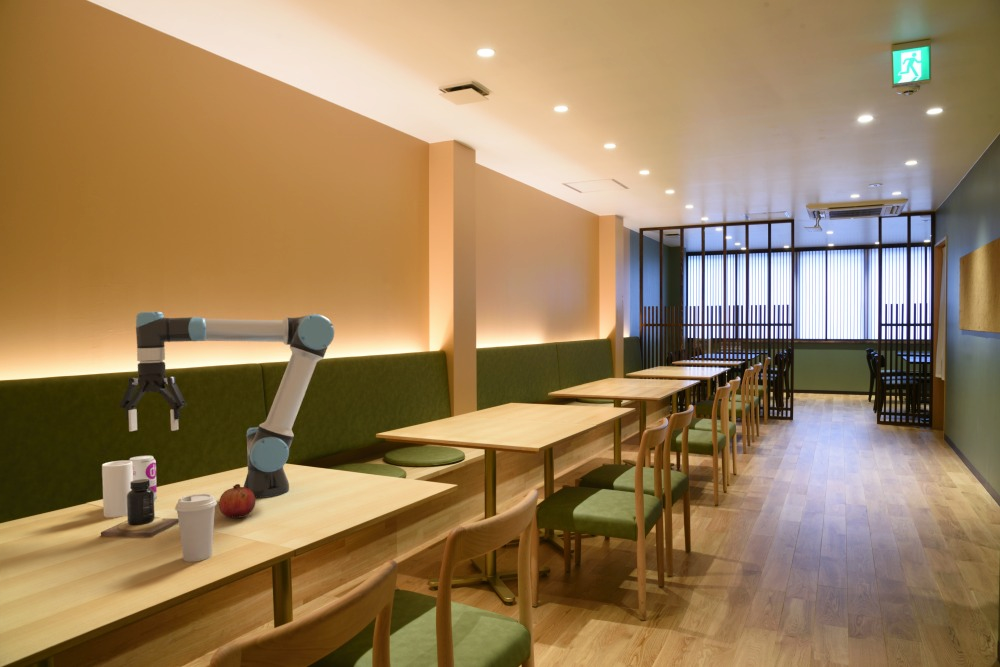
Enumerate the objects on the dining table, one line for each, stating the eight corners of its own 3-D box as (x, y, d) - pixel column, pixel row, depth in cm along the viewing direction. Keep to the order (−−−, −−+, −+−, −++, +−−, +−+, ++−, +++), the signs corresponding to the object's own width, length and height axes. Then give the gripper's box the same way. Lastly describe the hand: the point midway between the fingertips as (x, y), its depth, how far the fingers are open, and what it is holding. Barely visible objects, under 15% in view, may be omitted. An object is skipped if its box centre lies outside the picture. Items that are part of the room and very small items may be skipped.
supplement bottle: (155, 517, 190) (153, 477, 190) (154, 523, 184) (153, 481, 184) (128, 521, 187) (127, 480, 187) (126, 527, 181) (125, 485, 181)
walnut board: (179, 522, 191) (178, 515, 191) (151, 536, 178) (150, 529, 178) (132, 522, 193) (131, 515, 193) (100, 536, 180) (100, 529, 180)
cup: (139, 511, 204) (138, 461, 204) (114, 518, 197) (113, 466, 197) (122, 508, 208) (121, 459, 208) (97, 515, 200) (96, 464, 200)
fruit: (261, 516, 195) (260, 484, 195) (229, 524, 188) (228, 490, 188) (245, 510, 203) (244, 478, 202) (213, 518, 195) (212, 485, 195)
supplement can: (162, 498, 219) (160, 455, 219) (146, 505, 211) (144, 460, 211) (139, 498, 220) (138, 455, 220) (123, 505, 212) (121, 460, 212)
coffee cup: (185, 551, 166) (183, 493, 166) (223, 549, 167) (222, 491, 167) (170, 565, 157) (168, 503, 156) (210, 562, 157) (208, 502, 157)
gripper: (196, 360, 201) (199, 427, 201) (121, 361, 203) (124, 428, 203) (182, 361, 193) (185, 431, 193) (105, 363, 195) (107, 432, 196)
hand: (154, 430), depth 198 cm, fingers open, 13 cm apart
